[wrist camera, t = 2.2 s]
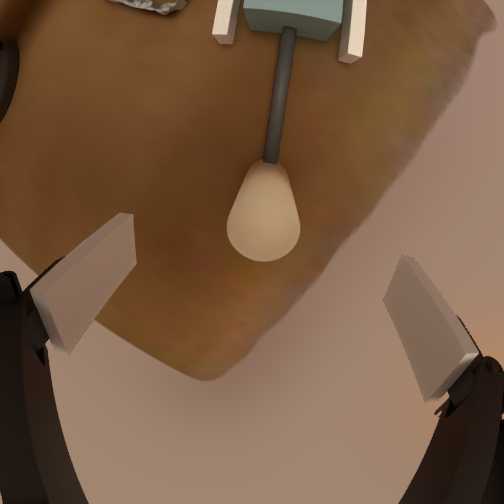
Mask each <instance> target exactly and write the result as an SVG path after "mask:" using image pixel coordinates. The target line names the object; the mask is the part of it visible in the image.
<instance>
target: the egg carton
mask: <svg viewBox="0 0 504 504" xmlns="http://www.w3.org/2000/svg"><path fill="white" fill-rule="evenodd" d="M109 1H112V2H115V3H120V2H122V3H124V4H127V5H129V6H132V7H137V8H142V9H148V10H155V11H157V13H159V14H162V15H167V14H168V13H170V12H171V11H174V10H182V9H183V8H184V7H185V5H186V4H187V2H186V1H185V0H177V1H176V2H175V3H166V4H164V5H161V6H160V7H159V4H157V3H156V2H155V1H154V0H109Z"/></svg>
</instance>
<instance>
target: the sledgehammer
mask: <svg viewBox="0 0 504 504" xmlns="http://www.w3.org/2000/svg"><path fill="white" fill-rule="evenodd" d="M243 9H244V12H245V16H246V19H247V23H248V26H249V30H253V31H263V32H272V33H280V34H281V40H280V47H279V54H278V61H277V68H276V74H275V81H274V88H273V95H272V102H271V109H270V116H269V123H268V130H267V137H266V144H265V151H264V158H263V159H260V160H258V161H256V162H254V163H253V164H252V165H251V166H250V167H249V169H248V171H247V173H246V176H245V178H244V180H243V183H242V185H241V188H240V190H239V192H238V195H237V197H236V200H235V202H234V204H233V207H232V209H231V212H230V214H229V217H228V220H227V234H228V238H229V240H230V242H231V244H232V245H233V247H234V248H235V249H236V250H237V251H238V252H239V253H240V254H242V255H243V256H245V257H247V258H249V259H252V260H256V261H273V260H276V259H279V258H281V257H283V256H285V255H286V254H288V253H289V252H290V251H291V250H292V249H293V248H294V246H295V245H296V243H297V241H298V238H299V235H300V221H299V217H298V213H297V209H296V205H295V201H294V197H293V193H292V189H291V185H290V181H289V178H288V174H287V171H286V169H285V168H284V166H283V165H282V164H281V163H279V162H278V161H277V159H278V153H279V146H280V140H281V133H282V127H283V120H284V114H285V107H286V100H287V93H288V87H289V80H290V73H291V66H292V59H293V52H294V45H295V38H296V36H299V37H304V38H310V39H315V40H319V41H324V42H327V40H328V39H329V38H330V37H331V35H332V34H333V33H334V32H335V30H336V29H337V28H338V27H339V25H340V24H341V21H342V10H343V0H244V6H243Z"/></svg>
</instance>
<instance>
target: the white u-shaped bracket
mask: <svg viewBox="0 0 504 504" xmlns="http://www.w3.org/2000/svg"><path fill="white" fill-rule="evenodd" d="M366 3H367V0H344V11H343V22H342V31H341V40H340V48H339V56H338V61H341V62H345V63H349V64H351V63H353V62H354V61H356V60H358V59H360V58H361V57H362V50H363V41H364V30H365V18H366ZM239 5H240V0H218V5H217V10H216V16H215V21H214V27H213V32H212V35H213V36H214V37H215V38H216V40H217V41H218V42H219V43H220V44H233V41H234V35H235V28H236V23H237V17H238V11H239Z"/></svg>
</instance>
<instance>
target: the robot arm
mask: <svg viewBox="0 0 504 504" xmlns="http://www.w3.org/2000/svg"><path fill="white" fill-rule="evenodd" d="M18 63H19V54H18V47H17V44H16V42H15V41H14V39H12V38H10V37H0V120H1V119H2V117H3V116H4V114H5V112H6V110H7V108H8V106H9V103H10V100H11V98H12V94H13V91H14V87H15V83H16V79H17V73H18ZM136 264H137V261H136V250H135V237H134V221H133V214H128V213H119V214H117V215H116V216H115V217H113V218H112V219H111V220H109V221H108V222H107V223H106V224H104V225H103V226H102V227H100V228H99V229H98V230H97V231H95V232H94V233H93V234H92V235H90V236H89V237H88V238H87V239H85V240H84V241H83V242H82V243H81V244H79V245H78V246H77V247H76V248H75V249H73V250H72V251H71V252H70V253H69V254H68V255H67V256H64V257H62V258H60V259H58V260H56V261H55V262H54V263H53V264H51V265H50V266H49V267H48V269H46V270H45V271H44V272H43V273H42V274H40V275H39V276H38V277H37V278H36V279H35V280H34V281H33V282H32V283H31V284H30V285H29V286H28V287H27V288H26V289H25V290H24V291H23V292H22V289H21V286H20V284H19V281H18V278H17V275H16V273H15V272H13V271H4V272H1V273H0V492H1V496H2V501H3V504H89V503H88V501H87V499H86V497H85V495H84V492H83V490H82V488H81V485H80V483H79V480H78V478H77V475H76V472H75V470H74V467H73V464H72V461H71V458H70V456H69V452H68V449H67V446H66V443H65V439H64V436H63V432H62V428H61V424H60V421H59V417H58V412H57V407H56V403H55V397H54V393H53V387H52V380H51V374H50V367H49V359H48V350H47V348H46V345H45V343H46V342H47V341H48V339H50V341H51V343H52V345H53V347H54V349H55V350H58V351H60V352H62V353H64V354H67V355H70V354H71V352H72V350H73V349H74V348H75V346H76V345H77V343H78V342H79V340H80V339H81V337H82V336H83V334H84V333H85V332H86V330H87V329H88V327H89V326H90V324H91V323H92V322H93V320H94V319H95V317H96V316H97V315H98V313H99V312H100V311H101V309H102V308H103V306H104V305H105V304H106V302H107V301H108V300H109V298H110V297H111V296H112V294H113V293H114V292H115V291H116V289H117V288H118V287H119V285H120V284H121V283H122V281H123V280H124V279H125V278H126V276H127V275H128V274H129V273H130V271H131V270H132V269H133V268H134V266H135V265H136ZM383 301H384V303H385V305H386V308H387V310H388V312H389V314H390V316H391V319H392V321H393V323H394V325H395V327H396V330H397V332H398V334H399V337H400V339H401V341H402V344H403V346H404V348H405V351H406V353H407V356H408V358H409V361H410V364H411V366H412V369H413V371H414V374H415V377H416V379H417V382H418V385H419V388H420V391H421V393H422V396H423V399H424V402H425V403H426V402H433V401H438V400H439V399H440V398H441V397H442V396H443V395H444V394H445V393H446V392H447V391H448V394H449V396H450V397H449V398H448V399H447V400H446V401H445V402H444V403H443V404H442V406H440V407H439V408H438V409H437V410H436V412H435V413H434V414H435V415H436V414H438V413H439V412H440V411H442V412H441V415H440V416H439V417H440V418H439V421H438V424H437V426H436V429H435V431H434V434H433V437H432V439H431V441H430V444H429V446H428V448H427V451H426V453H425V455H424V457H423V459H422V461H421V464H420V466H419V468H418V470H417V472H416V474H415V475H414V477H413V479H412V481H411V483H410V485H409V487H408V489H407V490H406V492H405V494H404V495H403V497H402V499H401V500H400V502H399V504H504V419H503V420H502V414H503V413H504V371H503V368H502V367H501V365H500V364H499V362H498V361H497V360H495V359H494V358H492V357H490V356H485V357H483V355H482V353H481V351H480V350H479V348H478V346H477V345H476V343H475V341H474V340H473V338H472V336H471V335H469V332H468V330H467V328H465V325H464V324H463V322H462V321H461V319H460V318H459V317H458V316H457V315H456V314H455V313H454V311H453V310H452V308H451V307H450V305H449V304H448V303H447V301H446V300H445V298H444V297H443V296H442V294H441V293H440V291H439V290H438V289H437V287H436V286H435V285H434V283H433V282H432V280H431V279H430V278H429V276H428V275H427V274H426V272H425V271H424V270H423V269H422V267H421V266H420V265H419V263H418V262H417V261H416V260H415V258H414V257H410V256H405V255H401V258H400V260H399V263H398V265H397V268H396V270H395V273H394V275H393V278H392V280H391V282H390V285H389V287H388V289H387V292H386V294H385V296H384V298H383Z"/></svg>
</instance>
